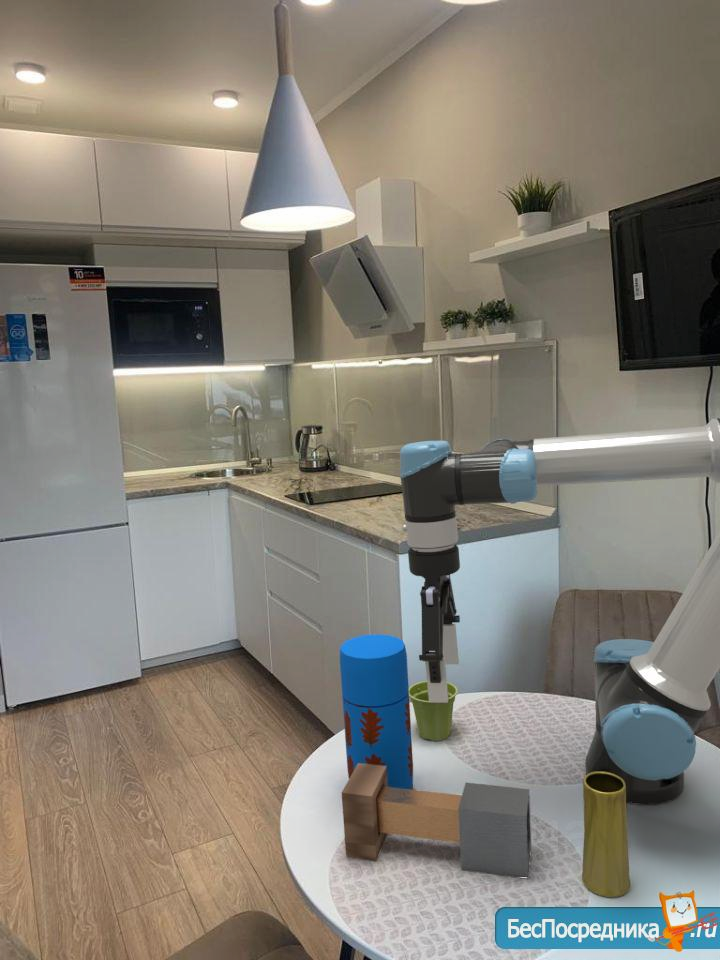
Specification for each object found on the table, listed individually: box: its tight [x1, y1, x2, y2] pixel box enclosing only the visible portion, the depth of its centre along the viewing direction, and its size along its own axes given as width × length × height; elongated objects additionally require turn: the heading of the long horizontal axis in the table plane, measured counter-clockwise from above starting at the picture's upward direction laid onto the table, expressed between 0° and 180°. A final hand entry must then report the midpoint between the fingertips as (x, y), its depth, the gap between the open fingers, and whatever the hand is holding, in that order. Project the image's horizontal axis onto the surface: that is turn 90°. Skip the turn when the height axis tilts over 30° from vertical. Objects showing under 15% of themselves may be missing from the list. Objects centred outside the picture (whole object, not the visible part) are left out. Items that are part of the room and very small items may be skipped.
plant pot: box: [408, 680, 459, 742], centre depth 137 cm, size 9×9×9 cm
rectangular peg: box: [376, 786, 462, 844], centre depth 104 cm, size 18×4×5 cm, turn 73°
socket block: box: [341, 763, 388, 862], centre depth 107 cm, size 4×8×10 cm, turn 163°
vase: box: [581, 771, 632, 898], centre depth 95 cm, size 6×6×14 cm
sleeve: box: [458, 782, 532, 878], centre depth 101 cm, size 9×6×9 cm
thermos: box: [339, 633, 414, 790], centre depth 119 cm, size 11×11×25 cm
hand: (444, 681), depth 110 cm, fingers open, 13 cm apart
